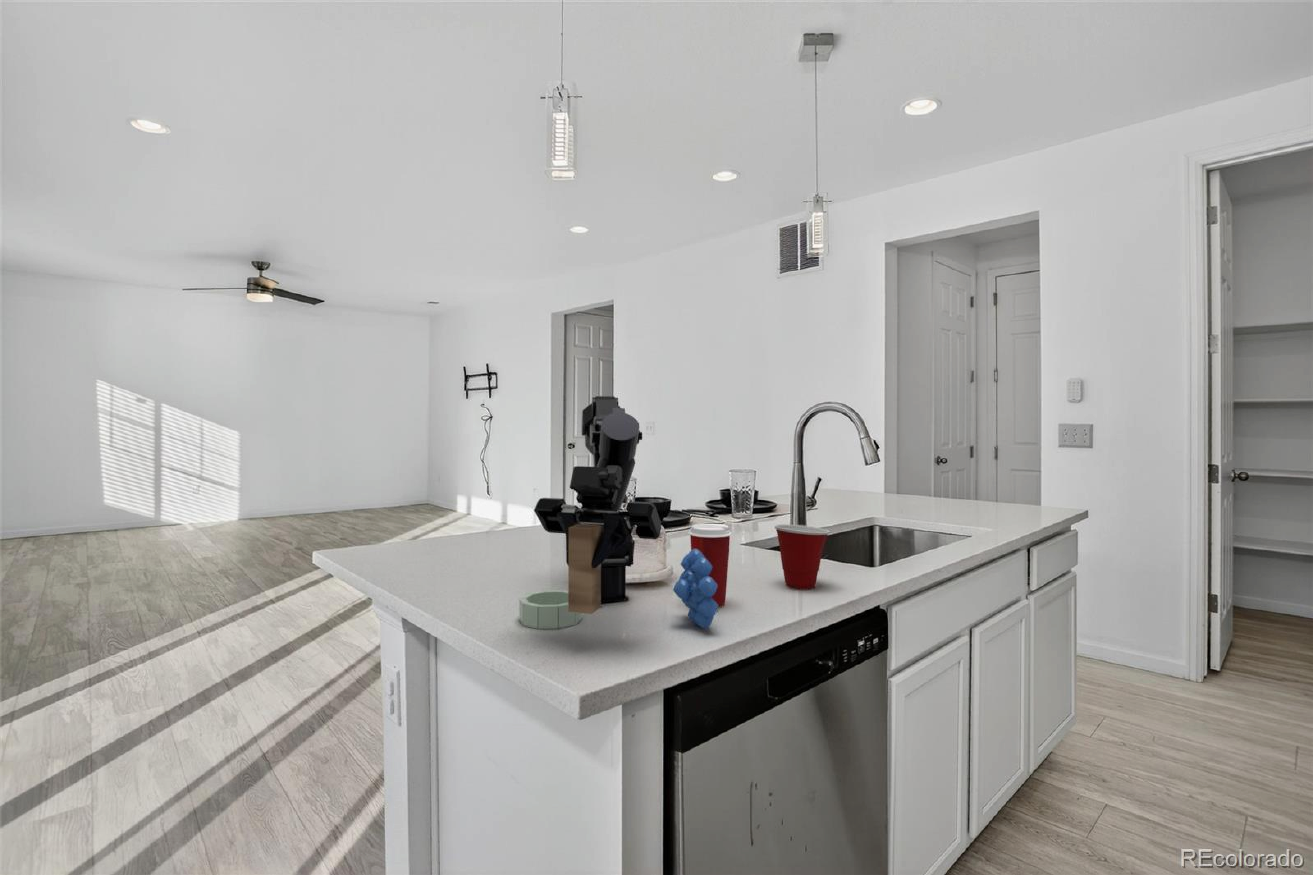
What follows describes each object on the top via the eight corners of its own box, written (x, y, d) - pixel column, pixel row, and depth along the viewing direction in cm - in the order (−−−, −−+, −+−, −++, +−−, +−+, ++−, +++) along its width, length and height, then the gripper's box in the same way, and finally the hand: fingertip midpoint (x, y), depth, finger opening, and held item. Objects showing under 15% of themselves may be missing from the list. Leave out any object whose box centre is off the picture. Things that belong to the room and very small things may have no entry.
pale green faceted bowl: (572, 607, 114) (572, 588, 114) (588, 625, 105) (588, 603, 105) (515, 613, 111) (515, 593, 110) (527, 632, 101) (527, 609, 101)
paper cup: (736, 601, 119) (737, 524, 119) (722, 612, 112) (723, 531, 112) (696, 596, 123) (697, 521, 122) (680, 606, 116) (681, 527, 115)
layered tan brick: (578, 605, 96) (579, 523, 96) (600, 607, 95) (601, 525, 95) (568, 611, 93) (568, 527, 93) (590, 614, 92) (591, 528, 92)
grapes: (660, 616, 110) (661, 545, 109) (698, 613, 112) (698, 543, 111) (685, 638, 99) (686, 559, 98) (726, 634, 101) (727, 556, 100)
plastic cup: (840, 590, 128) (841, 528, 127) (794, 595, 124) (794, 532, 123) (807, 577, 138) (808, 520, 137) (763, 582, 134) (763, 523, 133)
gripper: (540, 445, 100) (501, 528, 90) (655, 447, 94) (628, 536, 84) (562, 491, 108) (529, 572, 98) (671, 496, 102) (648, 582, 92)
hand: (580, 565), depth 93 cm, fingers closed on layered tan brick, 3 cm apart
